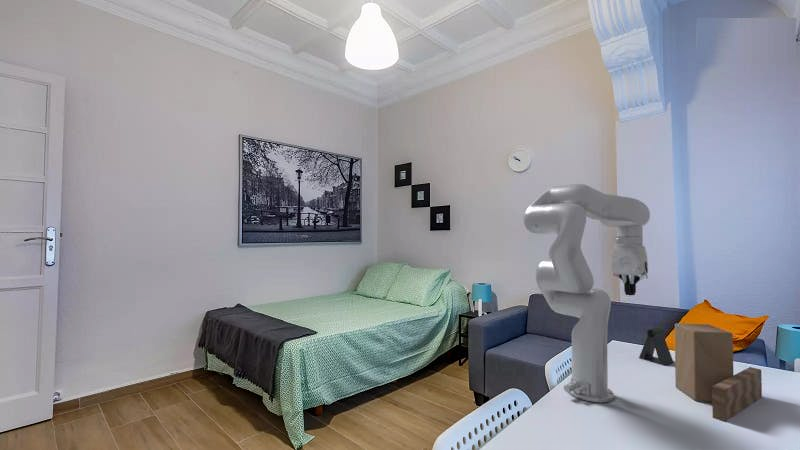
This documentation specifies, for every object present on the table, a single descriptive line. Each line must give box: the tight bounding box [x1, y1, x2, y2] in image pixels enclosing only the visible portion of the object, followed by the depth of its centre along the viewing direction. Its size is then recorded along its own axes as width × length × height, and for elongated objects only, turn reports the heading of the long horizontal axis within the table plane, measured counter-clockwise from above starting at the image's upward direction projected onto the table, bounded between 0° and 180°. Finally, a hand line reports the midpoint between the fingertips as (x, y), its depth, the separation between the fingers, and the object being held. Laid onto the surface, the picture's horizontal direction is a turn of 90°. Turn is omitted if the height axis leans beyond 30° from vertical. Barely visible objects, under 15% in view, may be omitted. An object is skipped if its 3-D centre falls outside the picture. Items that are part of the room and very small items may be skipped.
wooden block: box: [674, 323, 734, 403], centre depth 108 cm, size 10×10×20 cm
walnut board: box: [711, 366, 763, 422], centre depth 101 cm, size 28×2×8 cm, turn 121°
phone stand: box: [638, 327, 675, 366], centre depth 138 cm, size 9×6×12 cm, turn 27°
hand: (630, 294), depth 125 cm, fingers closed
